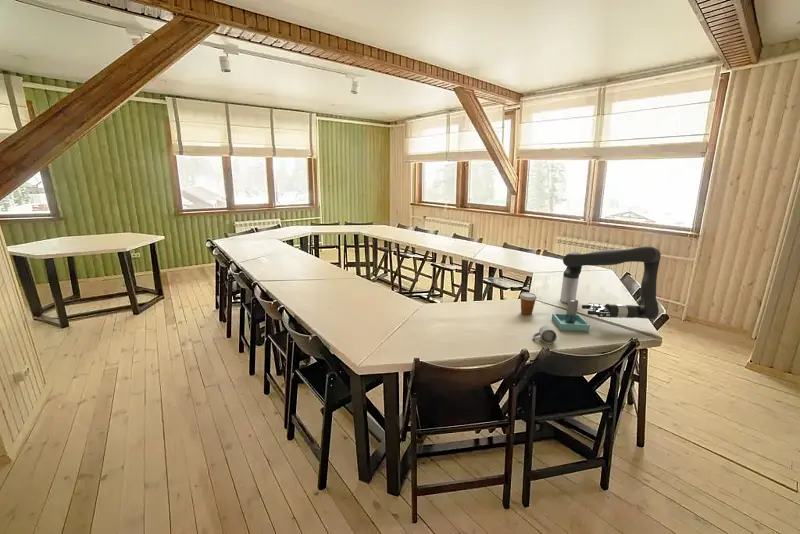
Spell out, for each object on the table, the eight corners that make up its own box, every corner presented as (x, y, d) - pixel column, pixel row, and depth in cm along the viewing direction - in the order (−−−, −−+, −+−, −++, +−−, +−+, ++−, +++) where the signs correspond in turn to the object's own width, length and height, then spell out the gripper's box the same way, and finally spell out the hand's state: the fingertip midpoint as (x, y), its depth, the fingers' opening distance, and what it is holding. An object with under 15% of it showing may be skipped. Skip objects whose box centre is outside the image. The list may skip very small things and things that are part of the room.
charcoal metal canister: (563, 321, 203) (567, 298, 200) (572, 322, 203) (576, 299, 199) (566, 325, 199) (570, 301, 195) (576, 325, 198) (579, 302, 194)
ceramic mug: (552, 337, 187) (553, 323, 185) (556, 344, 179) (557, 330, 177) (531, 336, 189) (532, 322, 187) (534, 343, 181) (535, 329, 179)
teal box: (551, 319, 209) (552, 313, 208) (578, 320, 207) (579, 314, 206) (559, 330, 195) (560, 323, 193) (588, 332, 193) (589, 325, 192)
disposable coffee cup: (524, 317, 212) (526, 298, 209) (515, 311, 221) (517, 292, 218) (538, 315, 215) (540, 296, 211) (528, 309, 223) (530, 291, 220)
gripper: (611, 299, 202) (581, 298, 203) (623, 309, 188) (591, 308, 190) (608, 312, 204) (579, 310, 205) (620, 322, 190) (589, 321, 192)
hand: (584, 309), depth 198 cm, fingers open, 8 cm apart
